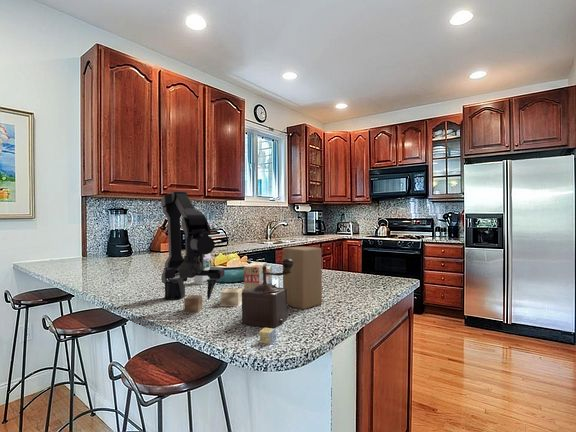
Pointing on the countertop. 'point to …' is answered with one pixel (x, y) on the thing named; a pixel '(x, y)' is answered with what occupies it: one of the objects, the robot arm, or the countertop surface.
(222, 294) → the maple base block
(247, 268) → the stack of blocks
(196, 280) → the syrup box
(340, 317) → the countertop surface
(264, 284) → the manual coffee grinder
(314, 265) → the wooden block
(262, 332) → the alphabet block
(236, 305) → the building mat
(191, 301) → the brown block
